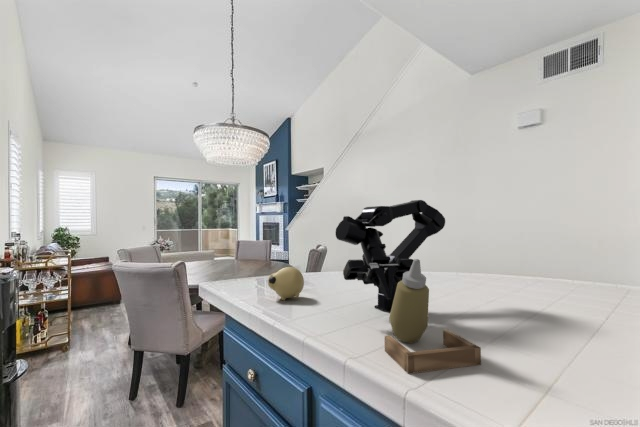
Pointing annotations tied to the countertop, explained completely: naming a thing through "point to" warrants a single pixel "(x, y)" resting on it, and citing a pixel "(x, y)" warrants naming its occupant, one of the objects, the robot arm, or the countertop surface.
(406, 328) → the squeeze bottle
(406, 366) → the bay
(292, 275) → the beige round figure
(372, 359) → the countertop surface
